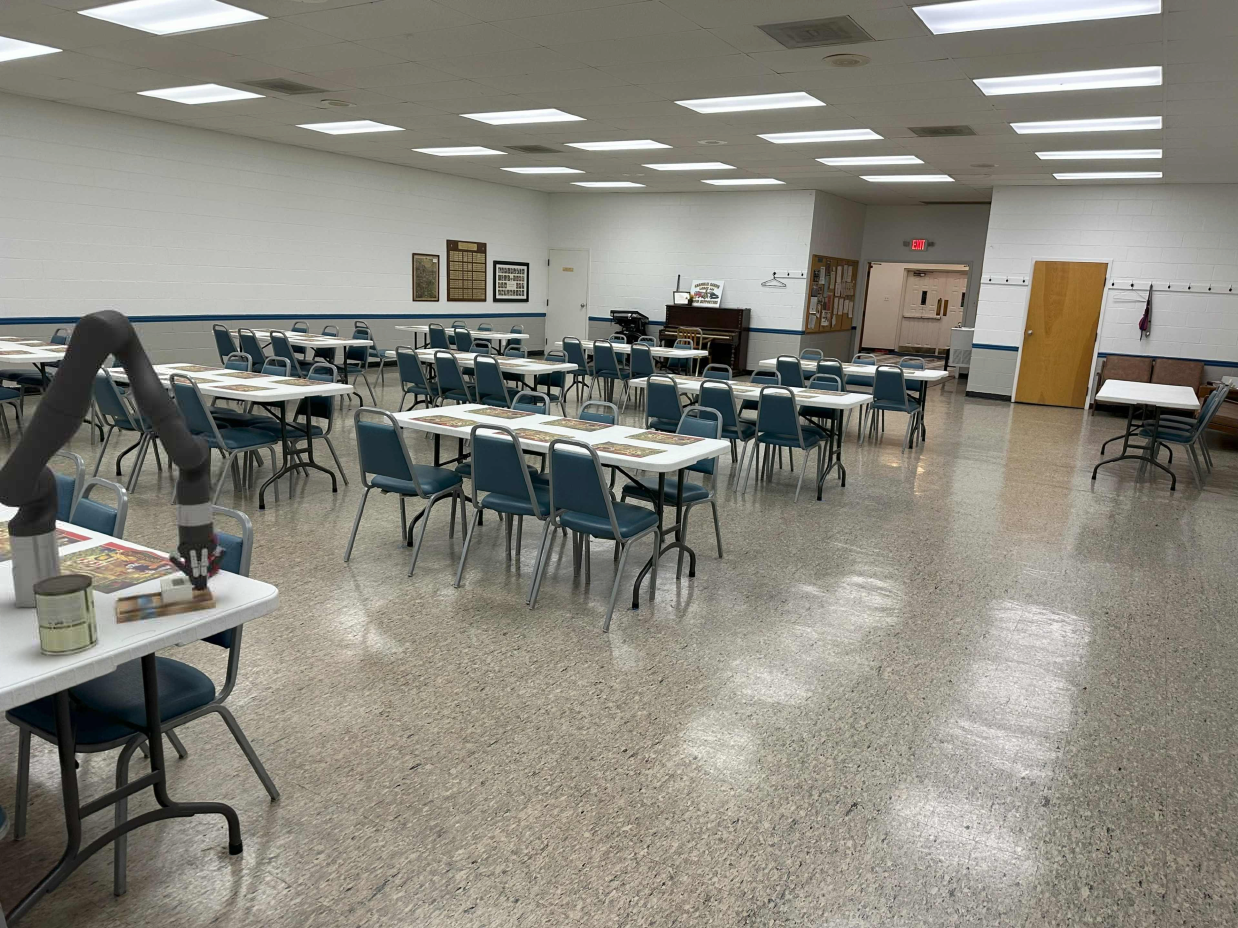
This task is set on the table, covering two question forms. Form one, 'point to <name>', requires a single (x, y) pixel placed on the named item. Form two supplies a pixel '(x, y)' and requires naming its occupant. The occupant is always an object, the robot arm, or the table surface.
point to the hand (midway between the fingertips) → (200, 589)
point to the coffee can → (66, 614)
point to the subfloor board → (160, 605)
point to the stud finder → (176, 589)
